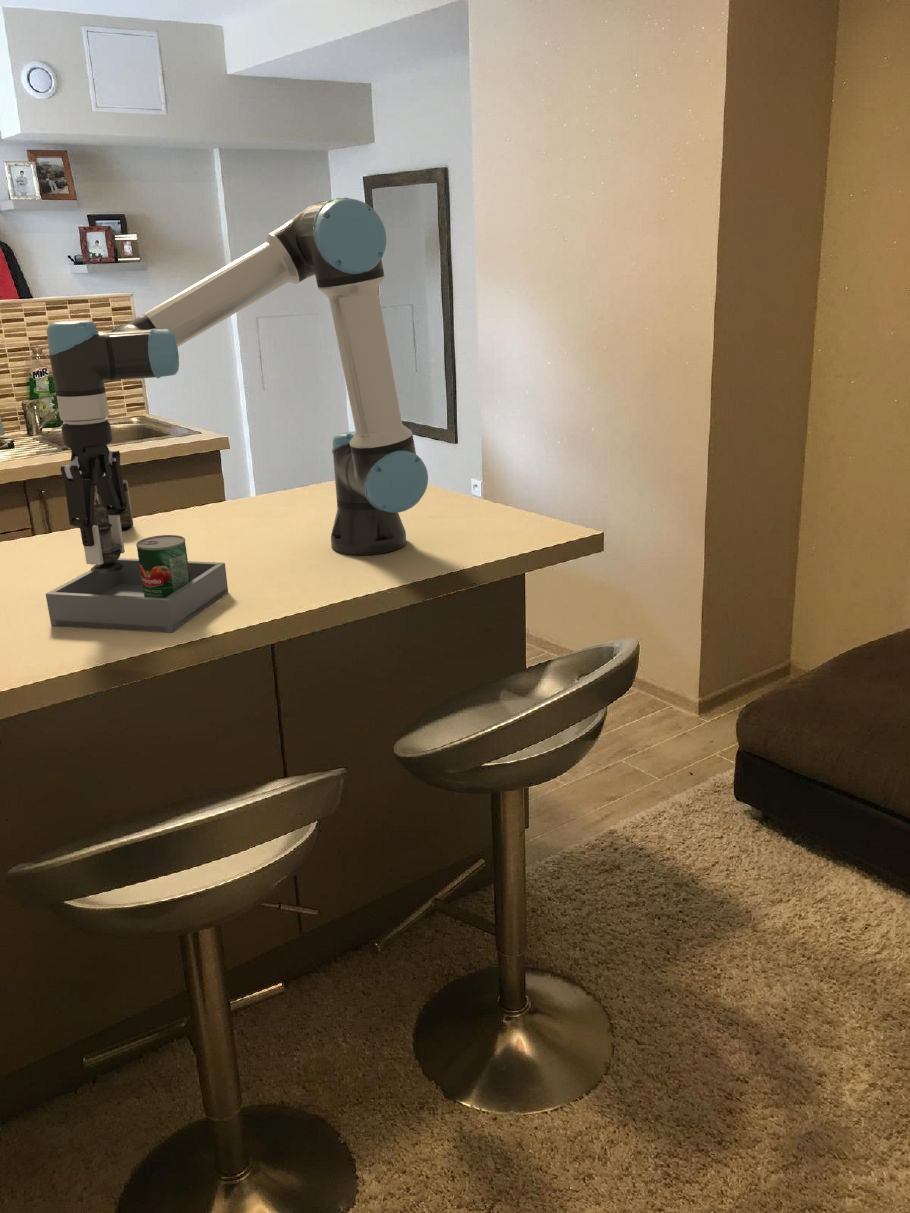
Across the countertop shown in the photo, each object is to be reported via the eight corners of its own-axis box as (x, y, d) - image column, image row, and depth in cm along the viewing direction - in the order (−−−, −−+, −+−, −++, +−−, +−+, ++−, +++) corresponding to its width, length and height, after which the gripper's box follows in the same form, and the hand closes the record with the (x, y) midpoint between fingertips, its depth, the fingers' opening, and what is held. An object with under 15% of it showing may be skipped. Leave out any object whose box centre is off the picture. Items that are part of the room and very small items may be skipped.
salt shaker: (114, 574, 168) (103, 503, 164) (82, 572, 169) (70, 503, 165) (131, 563, 174) (121, 495, 170) (100, 562, 175) (89, 494, 171)
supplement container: (140, 526, 225) (134, 480, 221) (119, 534, 219) (111, 487, 216) (117, 523, 228) (110, 478, 224) (95, 531, 222) (88, 485, 218)
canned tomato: (199, 595, 175) (191, 534, 171) (185, 611, 167) (176, 547, 163) (154, 596, 175) (145, 535, 171) (138, 612, 168) (128, 548, 164)
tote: (228, 592, 179) (224, 562, 177) (172, 633, 161) (167, 600, 159) (117, 586, 184) (113, 557, 182) (51, 625, 166) (45, 593, 164)
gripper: (97, 411, 173) (116, 541, 180) (28, 430, 155) (52, 573, 163) (136, 411, 171) (154, 543, 179) (71, 430, 154) (94, 576, 161)
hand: (106, 557), depth 171 cm, fingers closed on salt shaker, 6 cm apart
